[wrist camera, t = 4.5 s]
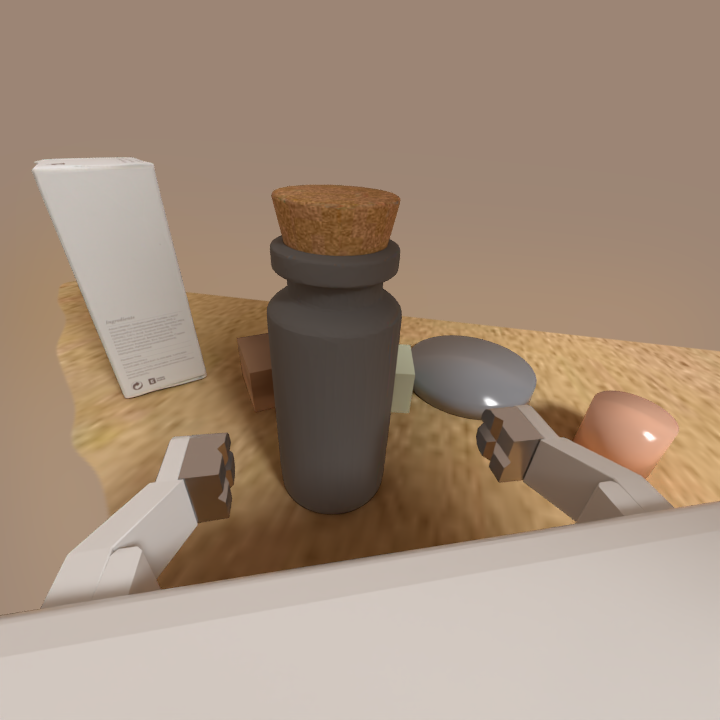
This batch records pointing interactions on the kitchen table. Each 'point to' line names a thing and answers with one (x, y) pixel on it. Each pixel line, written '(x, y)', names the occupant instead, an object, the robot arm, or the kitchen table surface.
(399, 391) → the sage block
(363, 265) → the bottle
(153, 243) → the skincare box
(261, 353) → the walnut block
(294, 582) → the robot arm
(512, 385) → the grey dome disc
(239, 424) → the kitchen table surface
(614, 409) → the peach rounded short part
